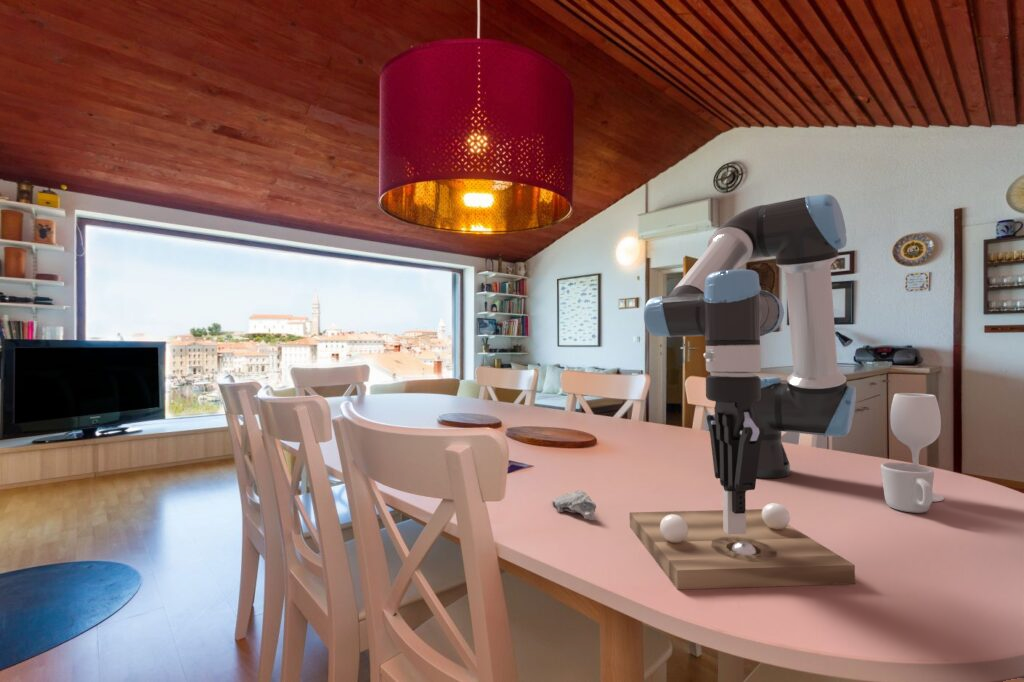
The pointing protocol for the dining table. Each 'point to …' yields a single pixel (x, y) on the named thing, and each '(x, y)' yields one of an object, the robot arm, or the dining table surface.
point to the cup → (907, 486)
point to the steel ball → (743, 548)
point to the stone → (576, 504)
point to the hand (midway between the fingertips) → (734, 532)
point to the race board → (716, 566)
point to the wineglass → (916, 423)
